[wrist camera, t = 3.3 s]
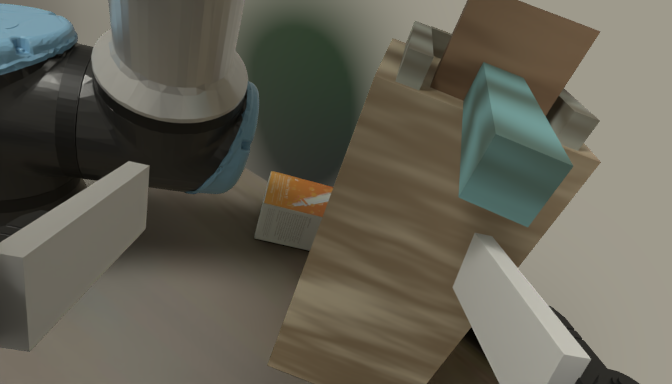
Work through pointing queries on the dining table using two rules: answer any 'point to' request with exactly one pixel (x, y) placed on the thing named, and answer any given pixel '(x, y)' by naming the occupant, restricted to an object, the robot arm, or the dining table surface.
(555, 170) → the teal and brown block
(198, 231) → the dining table surface
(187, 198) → the dining table surface
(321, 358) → the wooden board
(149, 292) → the dining table surface
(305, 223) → the small box
